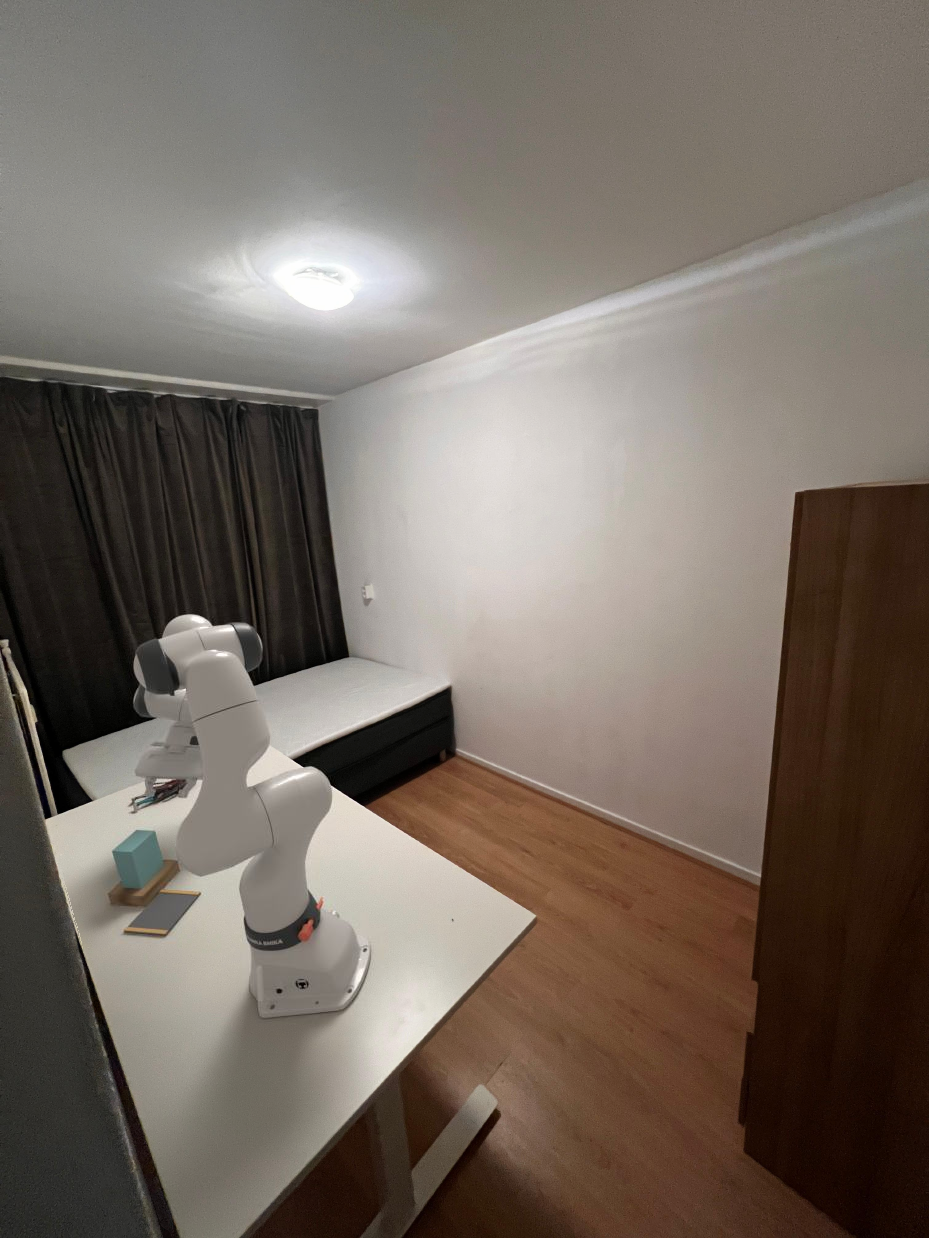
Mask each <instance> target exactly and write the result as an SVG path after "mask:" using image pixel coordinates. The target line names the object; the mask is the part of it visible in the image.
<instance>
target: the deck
mask: <svg viewBox="0 0 929 1238" xmlns="http://www.w3.org/2000/svg"><path fill="white" fill-rule="evenodd" d="M162 859H163V858H162ZM163 863H164V867H163V868H162V869H161V870H160V871H159V872H158V873H157V874H156V875H155V876H154V877H153V878H152V879H151V880H150V881H149V882H148V883H147V884H146V885H145V886H144V887H143V888H142V889H138V888H123V887H122V884H121V881H120V882H119V883H117V885H115V886H114V887H113V888H112V889H110V891H109V892H108V893H107V897H108V899H109V904H110V905H111V906H125V907H138V908H145V907H146V906H147V905H148V904H149V903H150V902H151V901H152V900H153V899H154V898H155V897H156V896H157V895H158V894H159V892H160V890H161V889H165V887H166V886H168V884H169V883H170V882H172V880H173V879H174V878H175V876H177V874H178V873H179V872H180V871H181V869H180V865H179V859H176V860H175V859H163Z"/></svg>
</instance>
